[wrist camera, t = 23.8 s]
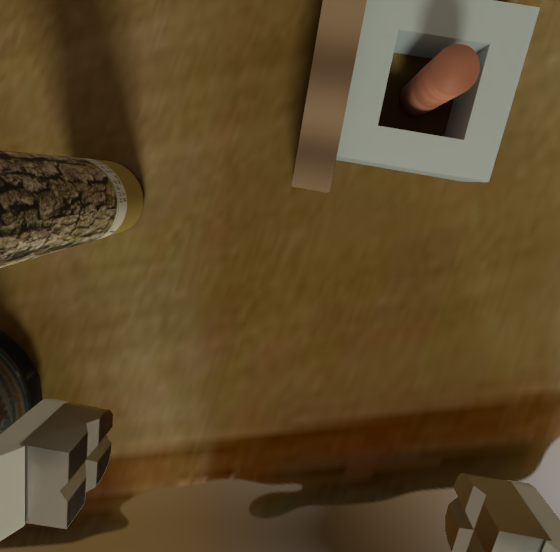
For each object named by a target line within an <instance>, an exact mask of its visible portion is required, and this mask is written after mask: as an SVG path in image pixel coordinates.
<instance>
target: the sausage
mask: <svg viewBox="0 0 560 552" xmlns="http://www.w3.org/2000/svg"><path fill="white" fill-rule="evenodd" d="M479 71H480V62H479V58H478V56H477V54H476V52H475V51H474V50H473V49H472V48H471V47H469V46H467V45H464V44H453V45H450V46H448V47H446V48H444V49H443V50H442V51H441V52H440V53H439V54H437V55H436V56H435V57H434V58H433V59H432V60H431V61H430V62H429V63H428V64H427V65H426V66H425V67H424V68H422V69H421V70H420V71H419V72H418V73H417V74H416V75H415V76H414V77H413V78H412V79H411V80H410V81H409V82H407V83H406V84H405V85H404V87H403V88H402V90H401V92H400V95H399V104H400V107H401V109H402V110H403V112H404V113H406V114H407V115H409V116H414V117H416V116H421V115H423V114H425V113H427V112H429V111H431V110H433V109H434V108H436V107H438V106H440V105H442V104H444V103H446V102H447V101H449V100H451V99H453V98H455V97H457V96H459V95H460V94H462V93H464V92H466V91H467V90H469V89H470V88H471V87H472V86H473V85H474V83H475V82H476V80H477V78H478V75H479Z"/></svg>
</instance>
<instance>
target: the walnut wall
mask: <svg viewBox="0 0 560 552" xmlns="http://www.w3.org/2000/svg"><path fill="white" fill-rule="evenodd" d="M366 2H367V0H323V2H322V8H321V14H320V20H319V26H318V32H317V38H316V43H315V49H314V55H313V61H312V67H311V73H310V79H309V85H308V91H307V97H306V103H305V109H304V115H303V121H302V126H301V132H300V138H299V144H298V150H297V156H296V162H295V168H294V174H293V180H292V187H297V188H303V189H309V190H315V191H321V192H326V193H330V188H331V183H332V178H333V173H334V168H335V162H336V157H337V152H338V147H339V142H340V137H341V131H342V126H343V121H344V116H345V111H346V106H347V100H348V95H349V90H350V85H351V80H352V75H353V69H354V64H355V59H356V54H357V49H358V44H359V38H360V33H361V28H362V23H363V18H364V13H365V7H366Z"/></svg>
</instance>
